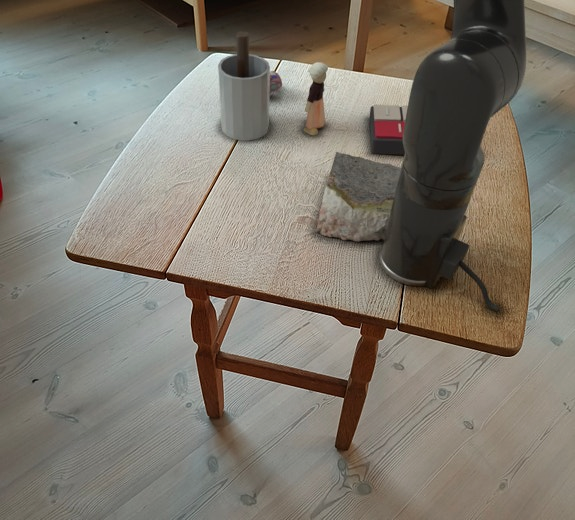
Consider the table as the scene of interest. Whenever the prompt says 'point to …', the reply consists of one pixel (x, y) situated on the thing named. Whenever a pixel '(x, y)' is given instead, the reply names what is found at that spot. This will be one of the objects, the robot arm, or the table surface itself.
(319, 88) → the grandmother figurine
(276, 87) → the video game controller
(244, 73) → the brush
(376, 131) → the black red box
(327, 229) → the geological specimen
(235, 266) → the table surface
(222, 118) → the cup
